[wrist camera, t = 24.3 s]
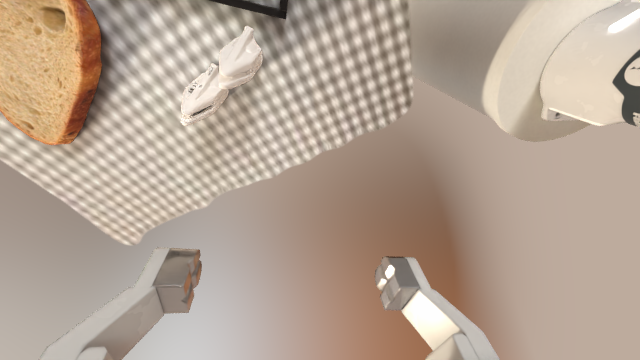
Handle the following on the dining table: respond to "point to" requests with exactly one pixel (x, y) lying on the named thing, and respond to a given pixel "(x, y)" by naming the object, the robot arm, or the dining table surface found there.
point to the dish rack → (258, 7)
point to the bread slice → (48, 66)
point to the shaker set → (221, 78)
